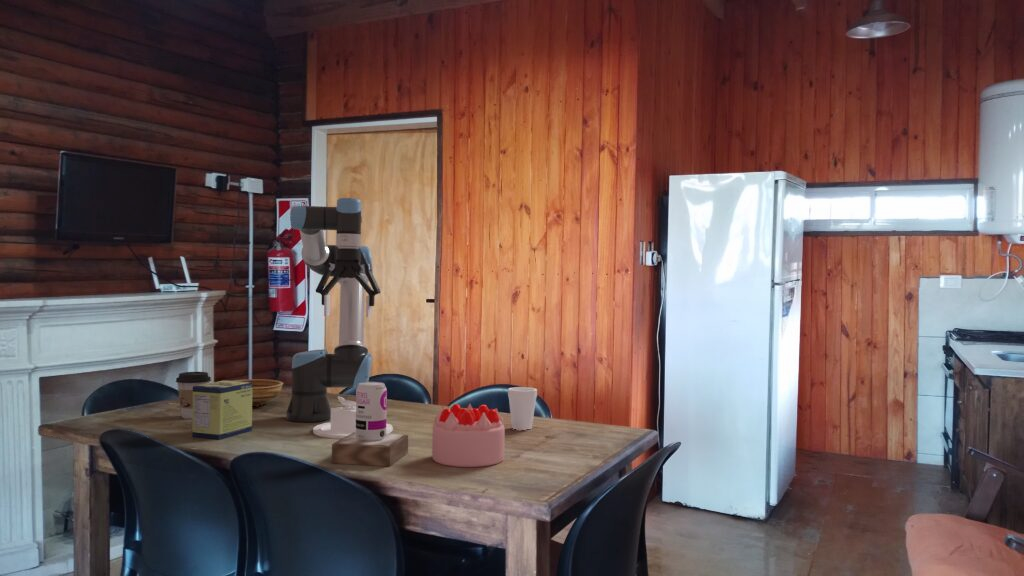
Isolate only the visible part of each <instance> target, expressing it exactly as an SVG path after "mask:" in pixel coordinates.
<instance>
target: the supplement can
mask: <svg viewBox="0 0 1024 576" xmlns="http://www.w3.org/2000/svg"><path fill="white" fill-rule="evenodd" d="M355 391H356V392H355V397H356V398H355V402H356V437H357V438H358V439H359V440H362V441H378V440H382V439H384V437H385V436H386V423H387V413H388V412H387V405H388V404H387V402H388V398H387V397H388V390H387V387H386V385H385V383H384V382H380V381H368V382H362V383H359V385H358V387H356V388H355Z"/></svg>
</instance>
